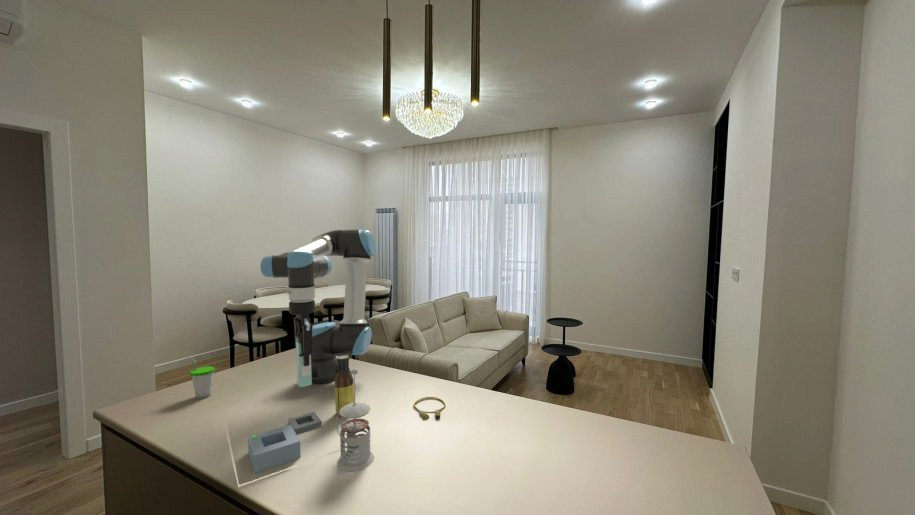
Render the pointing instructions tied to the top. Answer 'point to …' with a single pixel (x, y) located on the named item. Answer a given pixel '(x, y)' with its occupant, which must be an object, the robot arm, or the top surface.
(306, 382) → the plug
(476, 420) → the top surface
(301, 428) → the holster
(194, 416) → the top surface
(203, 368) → the cup
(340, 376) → the sauce bottle
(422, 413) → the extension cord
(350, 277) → the robot arm
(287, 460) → the port
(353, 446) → the french press
